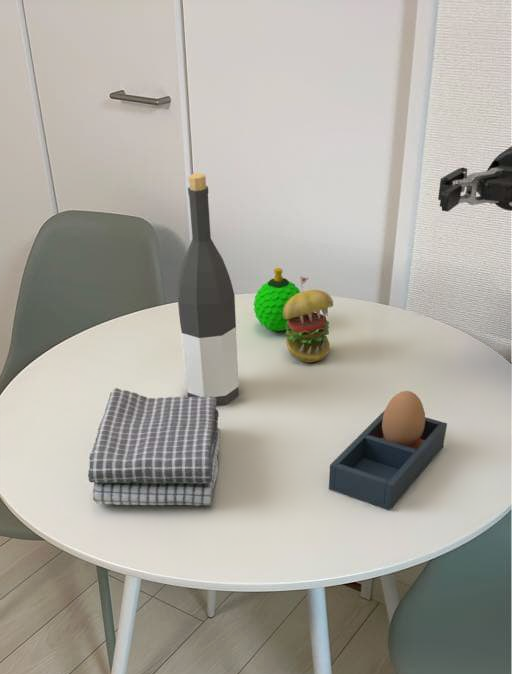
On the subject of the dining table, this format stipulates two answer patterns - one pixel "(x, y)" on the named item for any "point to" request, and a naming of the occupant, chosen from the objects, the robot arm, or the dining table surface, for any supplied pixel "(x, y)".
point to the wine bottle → (206, 309)
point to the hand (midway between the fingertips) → (480, 207)
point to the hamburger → (307, 324)
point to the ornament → (274, 301)
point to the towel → (155, 451)
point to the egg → (404, 419)
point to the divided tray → (384, 464)
